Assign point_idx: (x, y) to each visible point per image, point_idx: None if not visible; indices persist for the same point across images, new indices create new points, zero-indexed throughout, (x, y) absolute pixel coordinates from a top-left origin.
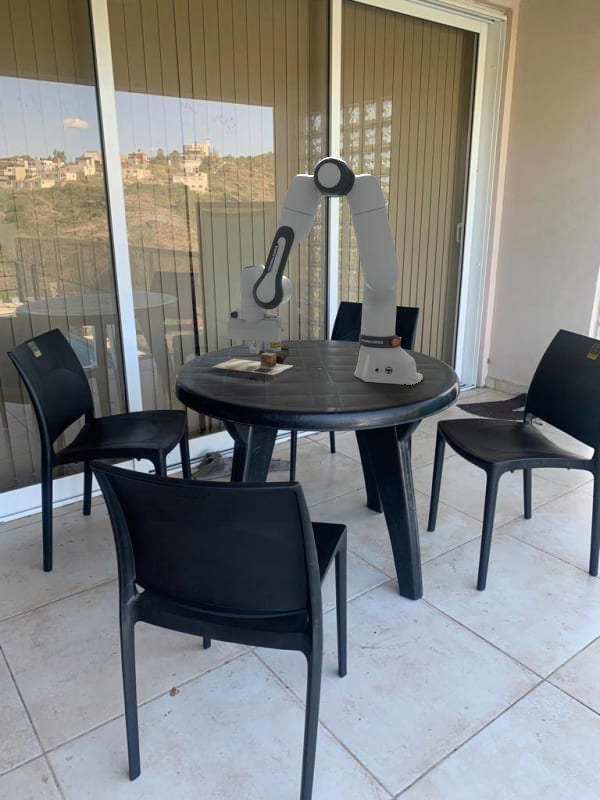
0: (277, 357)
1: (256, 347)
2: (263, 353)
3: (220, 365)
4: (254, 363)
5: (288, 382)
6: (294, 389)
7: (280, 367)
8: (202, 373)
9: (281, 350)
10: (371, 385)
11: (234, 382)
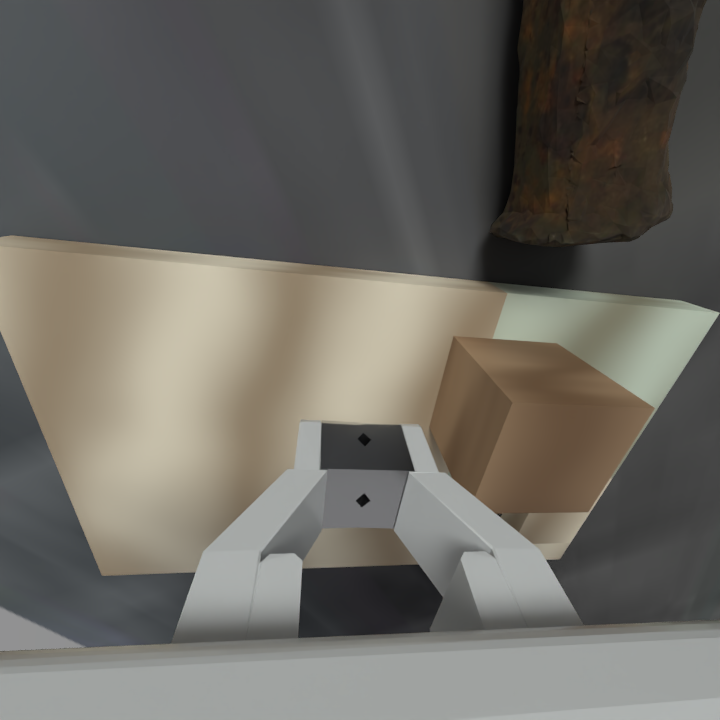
0: (608, 241)
1: (419, 552)
2: (490, 464)
3: (127, 530)
4: (344, 372)
5: (616, 544)
6: (634, 597)
7: None
8: (119, 589)
9: None
10: None
11: (376, 621)
